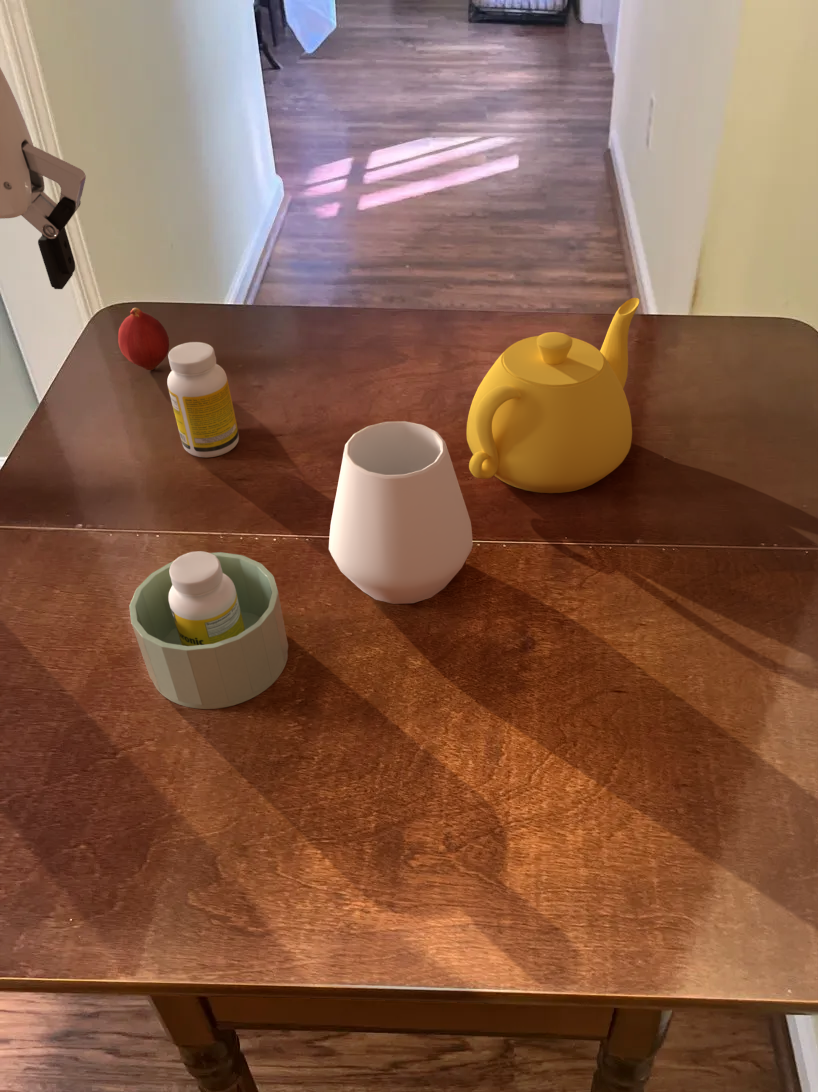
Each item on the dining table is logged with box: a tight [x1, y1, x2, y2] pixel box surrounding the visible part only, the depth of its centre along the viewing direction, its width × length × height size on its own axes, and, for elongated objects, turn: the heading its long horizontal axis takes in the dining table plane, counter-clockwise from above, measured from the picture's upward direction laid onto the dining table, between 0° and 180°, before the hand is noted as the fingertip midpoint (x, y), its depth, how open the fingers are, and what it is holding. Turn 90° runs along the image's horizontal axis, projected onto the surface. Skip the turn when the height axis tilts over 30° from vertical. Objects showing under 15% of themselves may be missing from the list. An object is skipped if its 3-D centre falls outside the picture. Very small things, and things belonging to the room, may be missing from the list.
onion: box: [117, 307, 170, 371], centre depth 118 cm, size 6×6×8 cm
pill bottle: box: [166, 341, 240, 459], centre depth 105 cm, size 6×6×11 cm
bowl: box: [128, 551, 289, 710], centre depth 83 cm, size 12×12×7 cm
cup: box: [328, 420, 474, 605], centre depth 89 cm, size 13×13×14 cm
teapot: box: [465, 297, 640, 494], centre depth 104 cm, size 25×18×14 cm
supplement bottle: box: [169, 550, 245, 646], centre depth 81 cm, size 5×5×10 cm
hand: (3, 280), depth 78 cm, fingers open, 9 cm apart
